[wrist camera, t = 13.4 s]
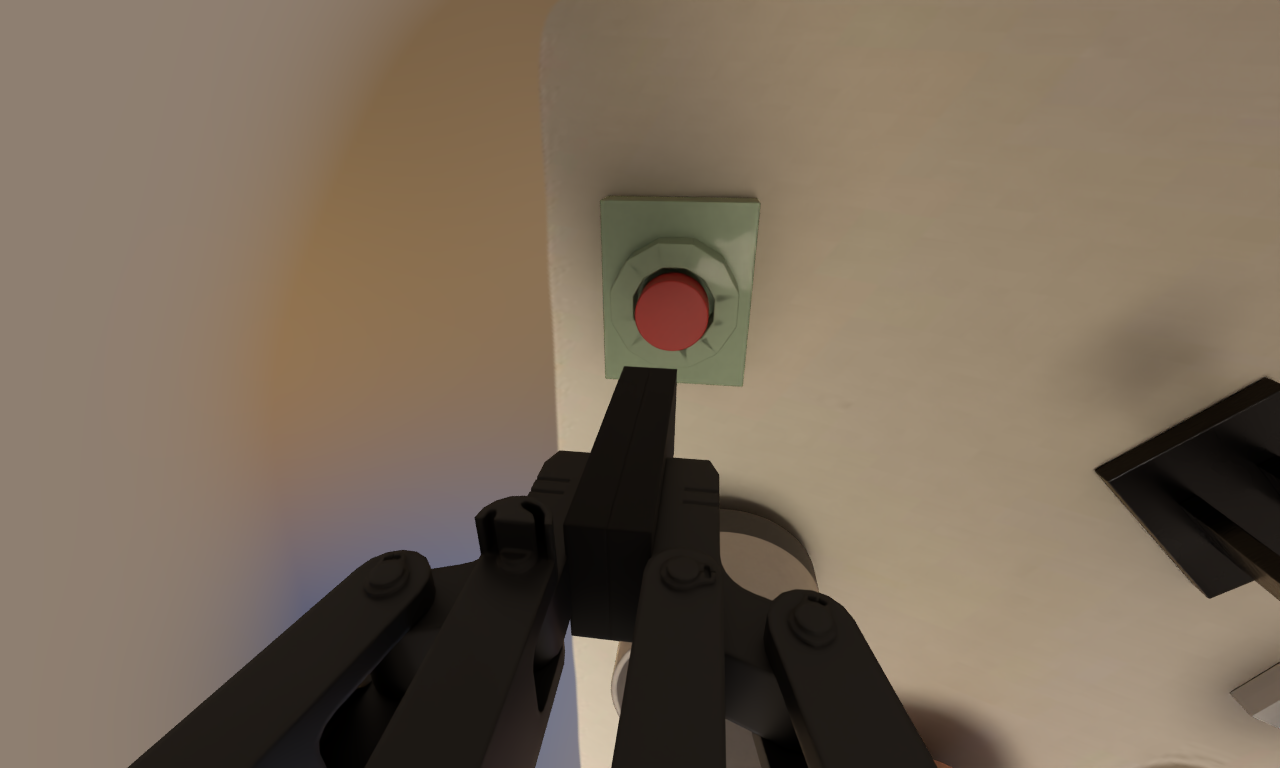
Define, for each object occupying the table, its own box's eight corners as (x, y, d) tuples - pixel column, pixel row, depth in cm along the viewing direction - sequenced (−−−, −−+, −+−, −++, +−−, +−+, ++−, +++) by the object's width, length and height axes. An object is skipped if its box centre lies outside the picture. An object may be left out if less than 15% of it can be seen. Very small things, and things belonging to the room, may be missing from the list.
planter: (842, 528, 35) (888, 668, 26) (772, 646, 41) (789, 796, 32) (663, 473, 35) (644, 594, 26) (618, 599, 41) (589, 735, 32)
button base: (607, 195, 28) (592, 203, 25) (757, 197, 27) (763, 207, 24) (611, 364, 32) (599, 392, 29) (741, 371, 31) (744, 401, 28)
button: (639, 270, 26) (634, 279, 24) (711, 273, 26) (710, 281, 24) (638, 337, 28) (634, 350, 26) (706, 341, 27) (706, 353, 26)
